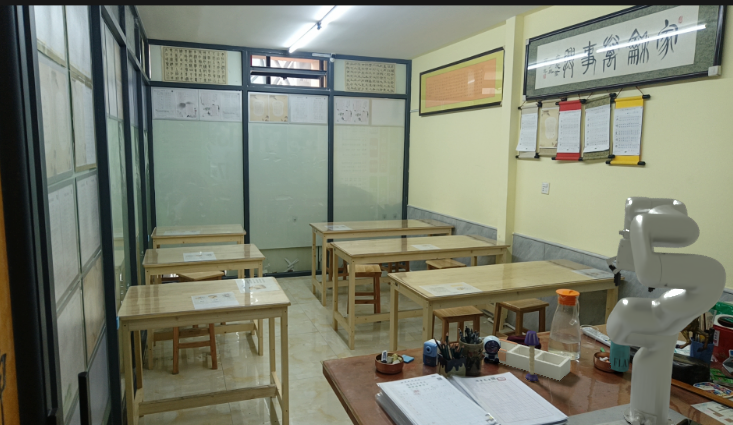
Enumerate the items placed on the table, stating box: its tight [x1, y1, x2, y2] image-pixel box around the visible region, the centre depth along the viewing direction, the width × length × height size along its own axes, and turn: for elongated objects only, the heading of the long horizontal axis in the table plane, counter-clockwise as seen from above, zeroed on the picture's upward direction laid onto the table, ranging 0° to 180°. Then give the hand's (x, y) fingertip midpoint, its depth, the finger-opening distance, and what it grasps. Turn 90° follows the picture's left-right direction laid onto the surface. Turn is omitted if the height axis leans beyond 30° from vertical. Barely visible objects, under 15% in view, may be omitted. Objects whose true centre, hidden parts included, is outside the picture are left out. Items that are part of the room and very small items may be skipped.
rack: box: [498, 338, 572, 382], centre depth 173 cm, size 11×28×5 cm, turn 48°
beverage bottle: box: [608, 340, 631, 373], centre depth 167 cm, size 6×7×20 cm
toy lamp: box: [524, 330, 540, 382], centre depth 162 cm, size 5×5×17 cm
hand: (633, 288), depth 153 cm, fingers open, 9 cm apart
